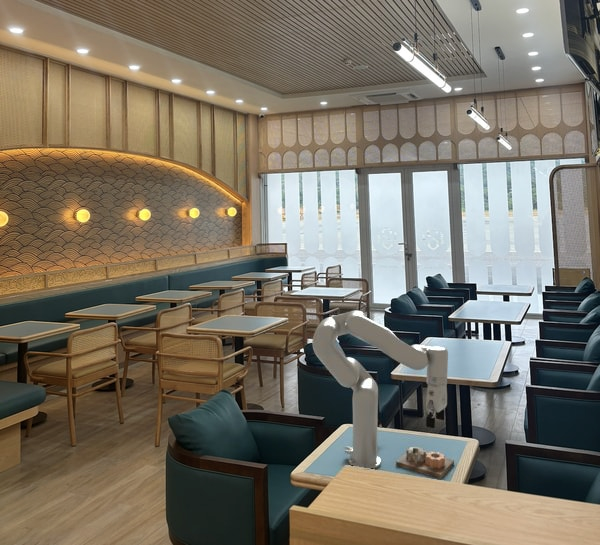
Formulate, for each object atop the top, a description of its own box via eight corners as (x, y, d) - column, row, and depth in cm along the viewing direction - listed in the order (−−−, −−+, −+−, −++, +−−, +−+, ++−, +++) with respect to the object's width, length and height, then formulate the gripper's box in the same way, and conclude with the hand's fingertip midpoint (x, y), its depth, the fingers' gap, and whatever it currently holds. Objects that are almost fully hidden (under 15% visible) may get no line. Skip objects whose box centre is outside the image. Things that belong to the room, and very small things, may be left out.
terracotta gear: (422, 464, 201) (422, 456, 200) (429, 457, 206) (429, 449, 206) (440, 469, 196) (441, 461, 196) (447, 462, 202) (448, 454, 202)
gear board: (396, 465, 203) (396, 449, 203) (410, 452, 215) (411, 437, 214) (440, 478, 193) (441, 462, 192) (454, 463, 204) (454, 448, 203)
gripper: (437, 387, 189) (436, 433, 190) (454, 376, 203) (452, 418, 204) (418, 383, 193) (416, 428, 195) (435, 372, 207) (434, 414, 209)
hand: (435, 423), depth 200 cm, fingers open, 9 cm apart
